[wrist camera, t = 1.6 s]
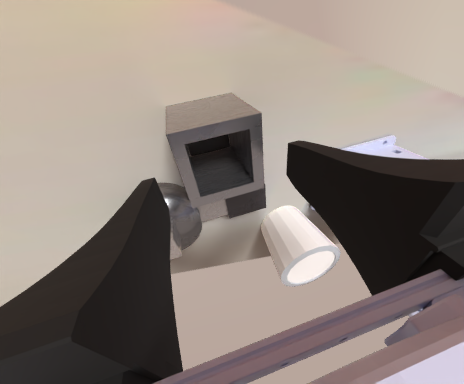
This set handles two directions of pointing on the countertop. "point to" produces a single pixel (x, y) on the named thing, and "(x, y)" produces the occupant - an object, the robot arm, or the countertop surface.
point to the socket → (219, 161)
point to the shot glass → (297, 246)
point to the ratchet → (202, 213)
